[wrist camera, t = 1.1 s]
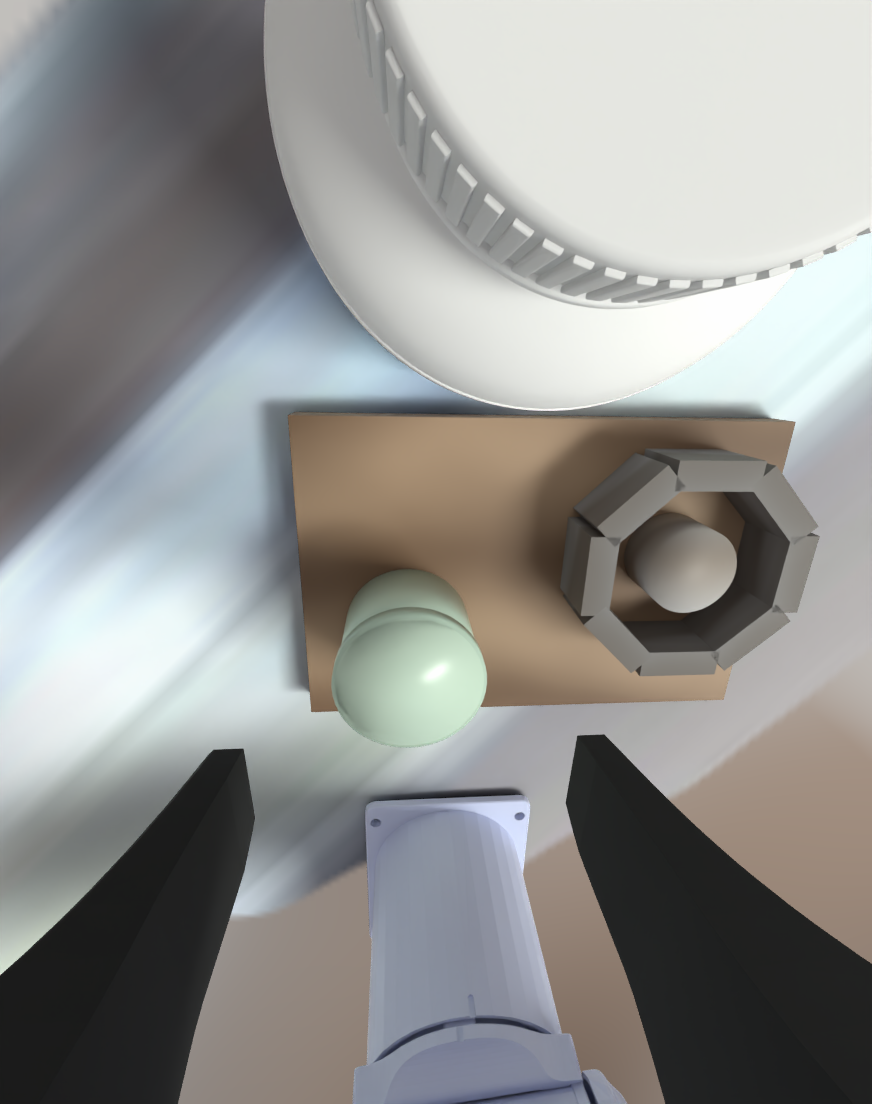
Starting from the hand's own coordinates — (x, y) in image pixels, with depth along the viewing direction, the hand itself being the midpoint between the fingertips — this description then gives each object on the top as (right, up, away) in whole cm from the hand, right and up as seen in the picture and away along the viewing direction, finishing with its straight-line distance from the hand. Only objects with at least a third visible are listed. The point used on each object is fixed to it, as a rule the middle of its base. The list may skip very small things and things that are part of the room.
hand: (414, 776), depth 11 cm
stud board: (+4, +4, +10) cm, 11 cm away
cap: (-1, +2, +9) cm, 9 cm away
